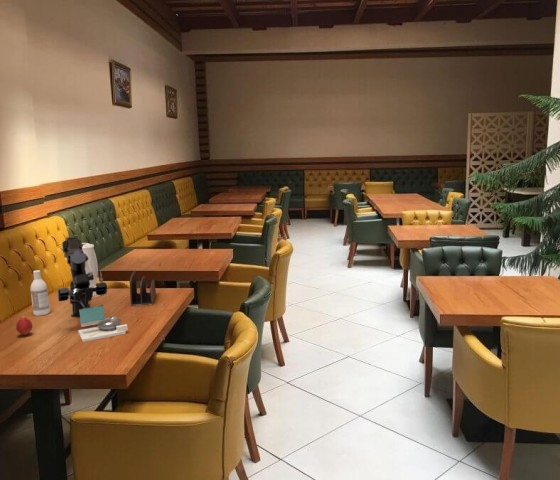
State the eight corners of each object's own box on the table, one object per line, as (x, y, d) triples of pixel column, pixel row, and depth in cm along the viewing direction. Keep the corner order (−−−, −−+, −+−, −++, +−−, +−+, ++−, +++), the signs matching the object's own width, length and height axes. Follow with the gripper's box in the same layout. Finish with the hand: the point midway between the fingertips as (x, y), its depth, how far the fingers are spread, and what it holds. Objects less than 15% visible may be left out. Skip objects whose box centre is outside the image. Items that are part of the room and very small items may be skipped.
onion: (17, 338, 202) (14, 319, 201) (17, 334, 207) (14, 315, 206) (33, 335, 205) (31, 316, 203) (33, 331, 210) (30, 312, 208)
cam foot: (118, 320, 214) (116, 300, 212) (123, 326, 206) (121, 305, 204) (80, 328, 206) (77, 306, 205) (83, 334, 199) (81, 312, 197)
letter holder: (130, 307, 240) (128, 278, 237) (136, 296, 259) (133, 268, 257) (152, 305, 241) (150, 276, 239) (156, 294, 261) (153, 267, 258)
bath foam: (33, 312, 236) (28, 270, 233) (50, 310, 239) (45, 268, 236) (33, 316, 230) (27, 273, 227) (50, 314, 233) (44, 271, 229)
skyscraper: (92, 298, 256) (86, 243, 252) (81, 297, 260) (75, 242, 256) (105, 294, 263) (100, 240, 259) (94, 292, 267) (89, 240, 263)
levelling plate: (121, 324, 214) (120, 317, 214) (128, 333, 204) (127, 325, 203) (78, 332, 206) (77, 325, 206) (83, 342, 196) (82, 334, 195)
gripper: (55, 269, 204) (61, 302, 197) (104, 263, 213) (111, 294, 205) (55, 284, 212) (61, 317, 205) (102, 278, 221) (109, 308, 213)
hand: (86, 309), depth 207 cm, fingers closed
